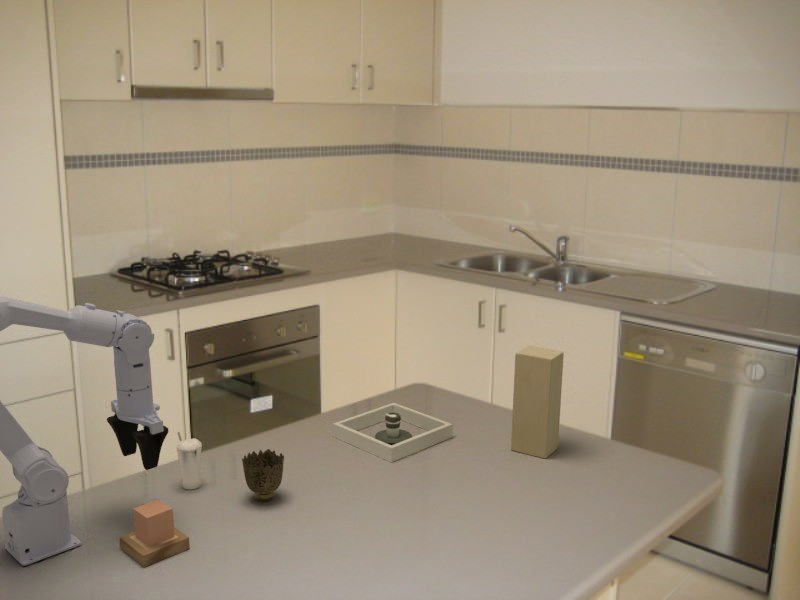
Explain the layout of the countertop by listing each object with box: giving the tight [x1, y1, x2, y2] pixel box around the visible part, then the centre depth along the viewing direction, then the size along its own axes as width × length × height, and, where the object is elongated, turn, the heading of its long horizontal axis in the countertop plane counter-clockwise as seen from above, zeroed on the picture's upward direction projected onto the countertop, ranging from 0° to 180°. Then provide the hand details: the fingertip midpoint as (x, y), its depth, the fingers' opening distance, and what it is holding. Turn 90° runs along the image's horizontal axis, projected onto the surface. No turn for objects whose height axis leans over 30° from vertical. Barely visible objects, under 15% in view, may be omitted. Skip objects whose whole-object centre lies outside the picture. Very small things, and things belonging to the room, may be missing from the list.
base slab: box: [118, 526, 191, 568], centre depth 137 cm, size 8×8×2 cm
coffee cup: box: [375, 413, 412, 444], centre depth 181 cm, size 12×12×5 cm
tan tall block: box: [510, 345, 565, 459], centre depth 173 cm, size 8×7×21 cm
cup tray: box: [332, 402, 454, 463], centre depth 181 cm, size 18×18×3 cm
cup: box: [241, 448, 285, 502], centre depth 153 cm, size 8×7×8 cm
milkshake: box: [176, 431, 203, 490], centre depth 158 cm, size 5×5×10 cm
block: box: [132, 499, 175, 547], centre depth 137 cm, size 4×4×5 cm
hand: (140, 460), depth 145 cm, fingers open, 7 cm apart
